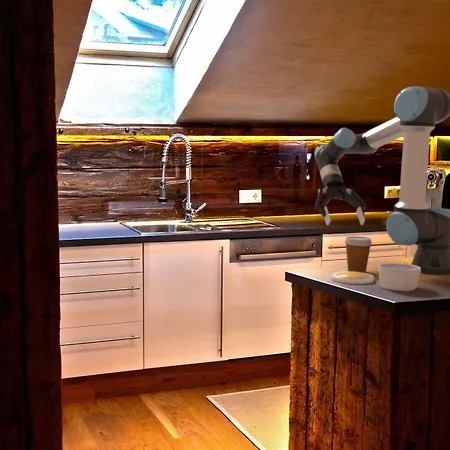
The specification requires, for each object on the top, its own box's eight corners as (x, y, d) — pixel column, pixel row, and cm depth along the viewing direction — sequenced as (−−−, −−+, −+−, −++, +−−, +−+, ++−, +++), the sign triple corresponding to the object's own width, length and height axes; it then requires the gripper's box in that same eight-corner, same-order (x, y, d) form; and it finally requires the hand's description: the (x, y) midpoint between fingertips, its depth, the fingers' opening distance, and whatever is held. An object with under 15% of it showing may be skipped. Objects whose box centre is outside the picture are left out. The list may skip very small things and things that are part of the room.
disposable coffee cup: (349, 274, 243) (350, 240, 241) (339, 269, 252) (340, 236, 251) (374, 273, 245) (376, 240, 243) (364, 268, 254) (365, 236, 253)
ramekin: (395, 281, 232) (396, 261, 232) (428, 289, 222) (429, 267, 221) (368, 286, 225) (369, 265, 224) (401, 294, 214) (402, 271, 213)
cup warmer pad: (352, 274, 243) (352, 269, 243) (382, 281, 232) (382, 276, 232) (322, 278, 236) (322, 273, 235) (351, 285, 224) (352, 281, 224)
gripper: (358, 185, 275) (373, 228, 263) (298, 185, 269) (311, 229, 257) (365, 173, 269) (380, 216, 257) (304, 172, 263) (317, 216, 251)
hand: (346, 222), depth 257 cm, fingers open, 13 cm apart
